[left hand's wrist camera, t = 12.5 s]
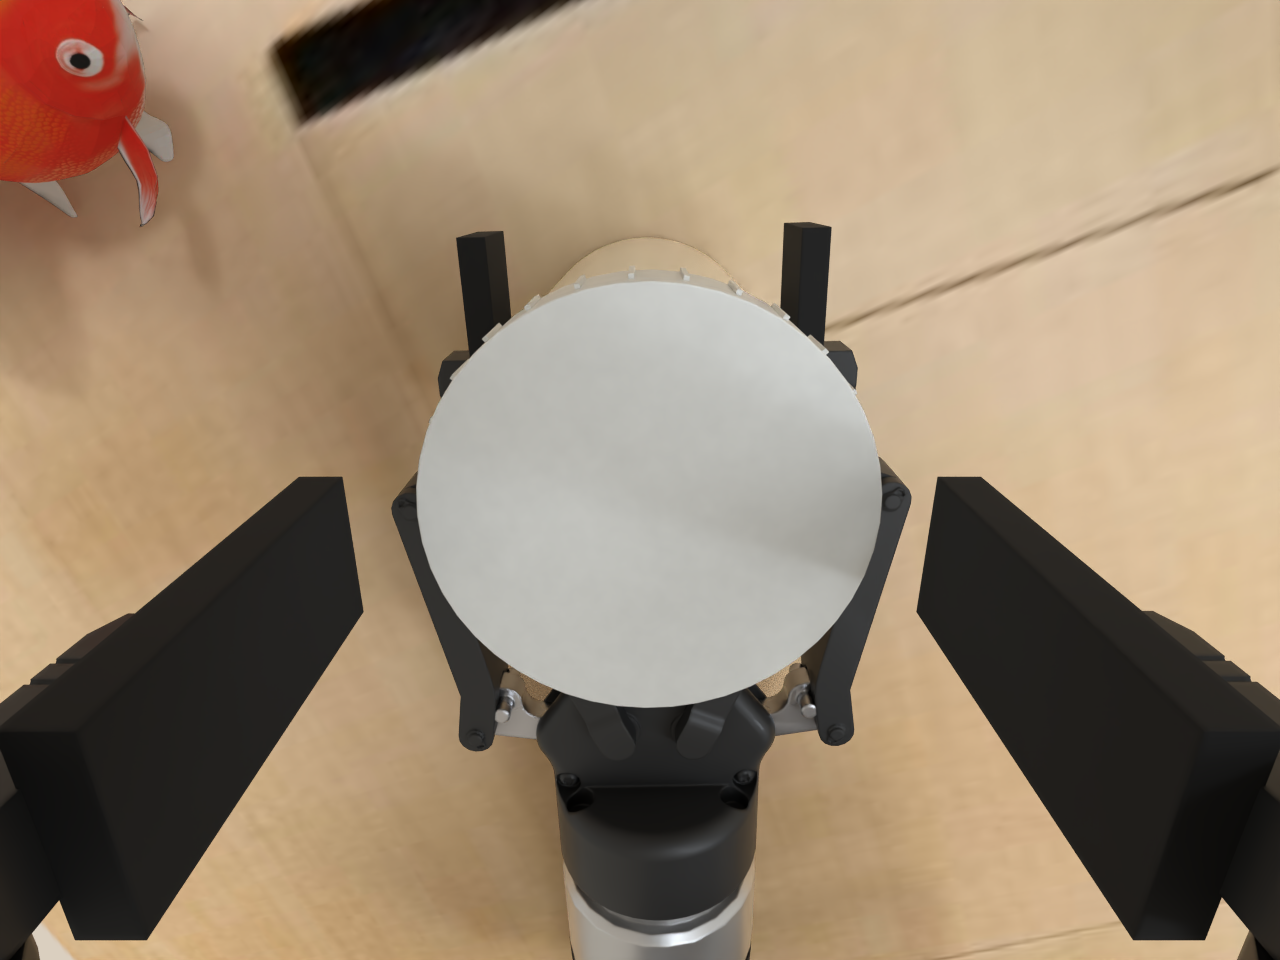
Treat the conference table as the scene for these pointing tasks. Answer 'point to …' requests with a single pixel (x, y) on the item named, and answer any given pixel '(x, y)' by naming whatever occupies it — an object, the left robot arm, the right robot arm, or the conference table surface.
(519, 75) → the conference table surface
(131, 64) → the fish
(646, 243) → the jar
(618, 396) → the lid
